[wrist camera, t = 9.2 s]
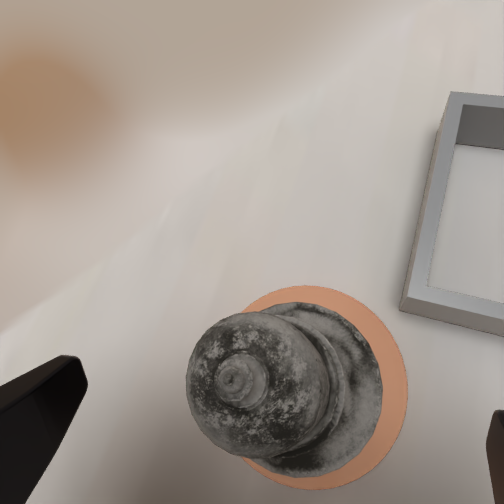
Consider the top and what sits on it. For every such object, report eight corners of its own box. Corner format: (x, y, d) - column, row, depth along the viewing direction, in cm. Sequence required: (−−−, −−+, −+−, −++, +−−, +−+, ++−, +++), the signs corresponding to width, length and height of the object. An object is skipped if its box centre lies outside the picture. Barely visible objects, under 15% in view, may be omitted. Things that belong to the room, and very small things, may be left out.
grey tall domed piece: (330, 293, 19) (295, 154, 8) (406, 417, 16) (517, 477, 5) (219, 356, 19) (29, 312, 8) (279, 487, 17) (133, 684, 6)
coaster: (381, 517, 16) (383, 525, 15) (195, 443, 19) (187, 446, 18) (422, 316, 18) (425, 312, 17) (249, 272, 21) (244, 267, 20)
